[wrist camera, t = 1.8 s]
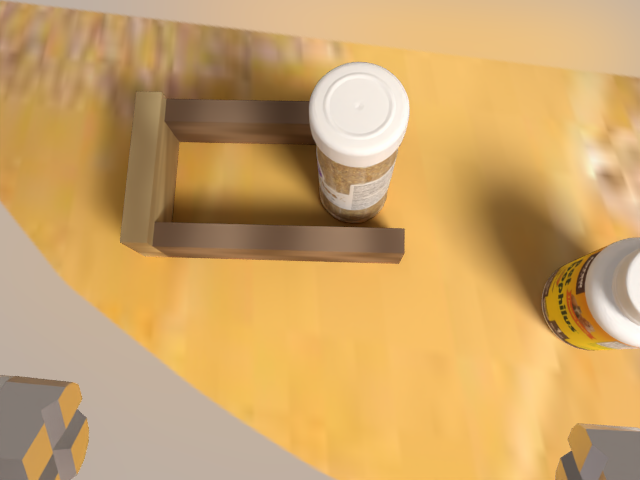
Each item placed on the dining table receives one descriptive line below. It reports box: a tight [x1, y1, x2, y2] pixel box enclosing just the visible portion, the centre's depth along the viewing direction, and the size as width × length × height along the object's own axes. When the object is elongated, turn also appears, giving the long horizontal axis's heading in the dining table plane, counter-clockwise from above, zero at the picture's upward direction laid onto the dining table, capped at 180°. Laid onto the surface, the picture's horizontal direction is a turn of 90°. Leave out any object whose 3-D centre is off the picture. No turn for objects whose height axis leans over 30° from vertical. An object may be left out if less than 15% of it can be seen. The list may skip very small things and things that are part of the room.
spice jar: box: [309, 62, 409, 223], centre depth 33 cm, size 5×5×14 cm
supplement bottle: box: [542, 238, 640, 350], centre depth 32 cm, size 6×6×10 cm
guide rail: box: [120, 91, 405, 264], centre depth 38 cm, size 17×10×4 cm, turn 88°
